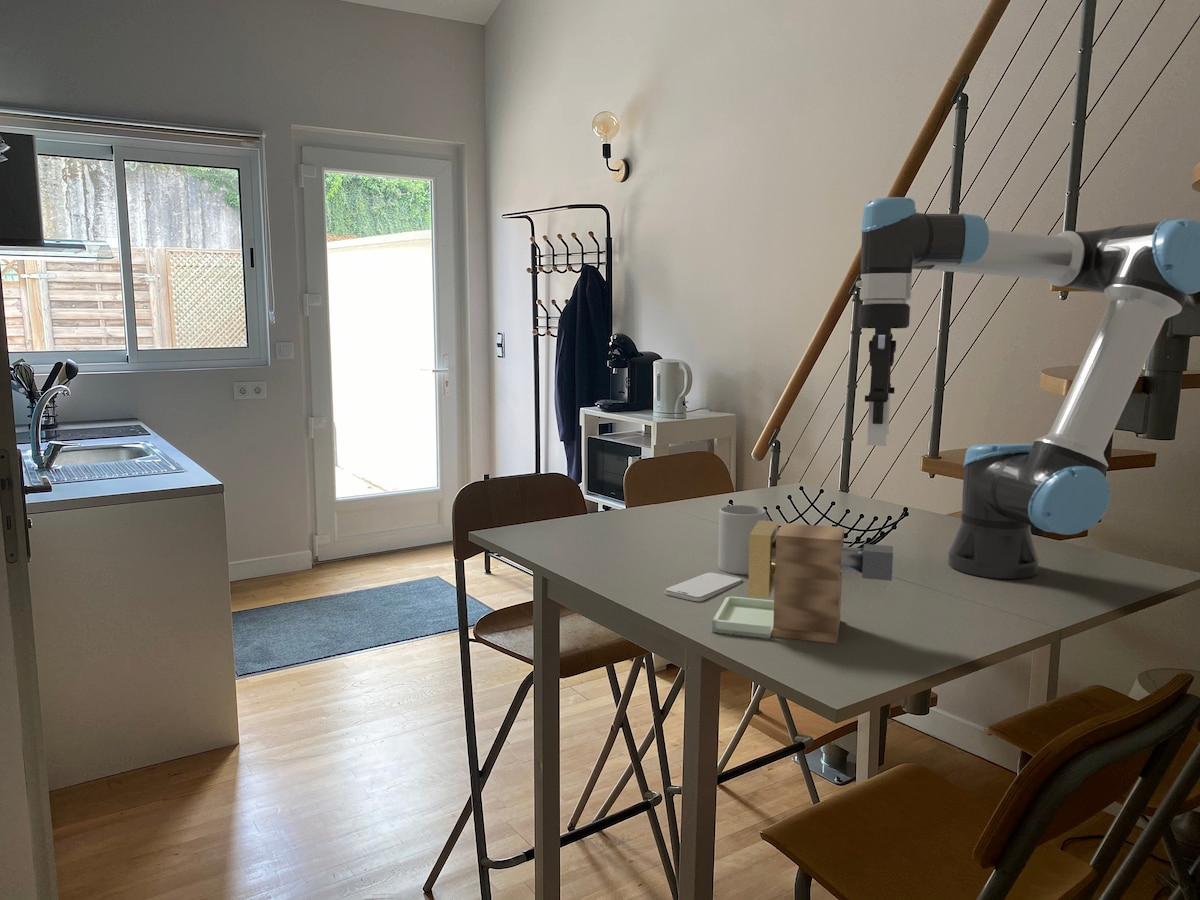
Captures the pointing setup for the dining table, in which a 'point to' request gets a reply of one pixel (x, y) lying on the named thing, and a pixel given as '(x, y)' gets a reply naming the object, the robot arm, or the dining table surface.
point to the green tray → (745, 617)
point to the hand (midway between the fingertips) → (878, 439)
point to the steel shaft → (863, 561)
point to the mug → (737, 536)
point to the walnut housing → (808, 582)
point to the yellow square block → (761, 559)
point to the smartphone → (702, 586)
